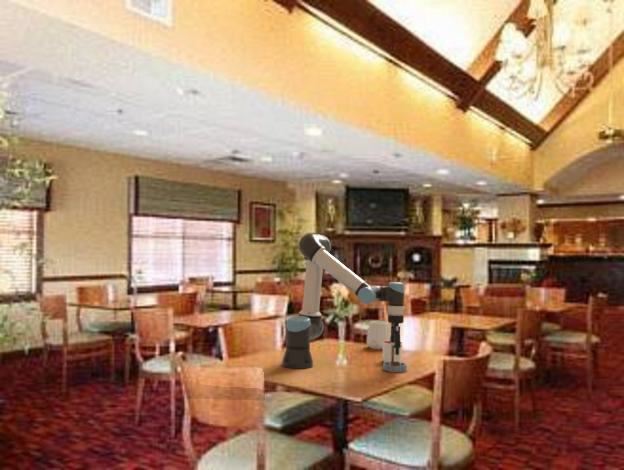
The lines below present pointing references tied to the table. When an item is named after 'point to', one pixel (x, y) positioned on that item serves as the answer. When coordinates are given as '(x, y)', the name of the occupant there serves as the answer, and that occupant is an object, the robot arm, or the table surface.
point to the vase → (378, 334)
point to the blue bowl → (394, 367)
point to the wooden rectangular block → (393, 358)
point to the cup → (386, 351)
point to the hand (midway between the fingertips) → (394, 358)
